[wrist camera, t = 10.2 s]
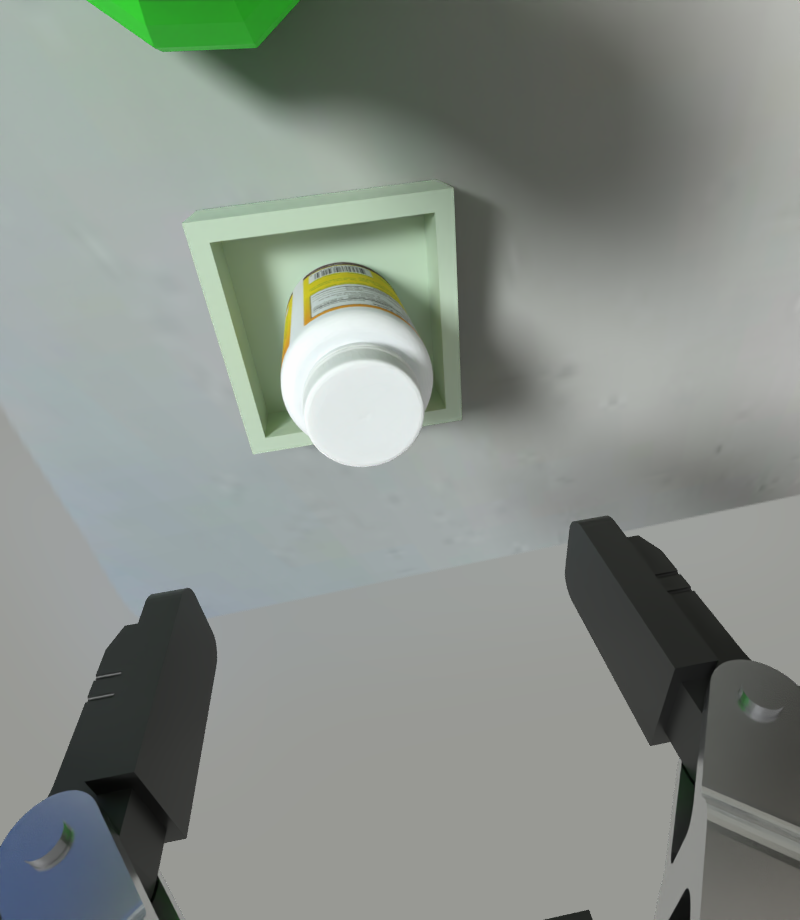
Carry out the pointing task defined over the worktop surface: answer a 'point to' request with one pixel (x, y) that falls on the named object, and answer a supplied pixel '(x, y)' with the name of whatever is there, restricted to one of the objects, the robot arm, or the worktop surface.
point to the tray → (308, 247)
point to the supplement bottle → (353, 366)
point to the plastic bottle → (198, 21)
